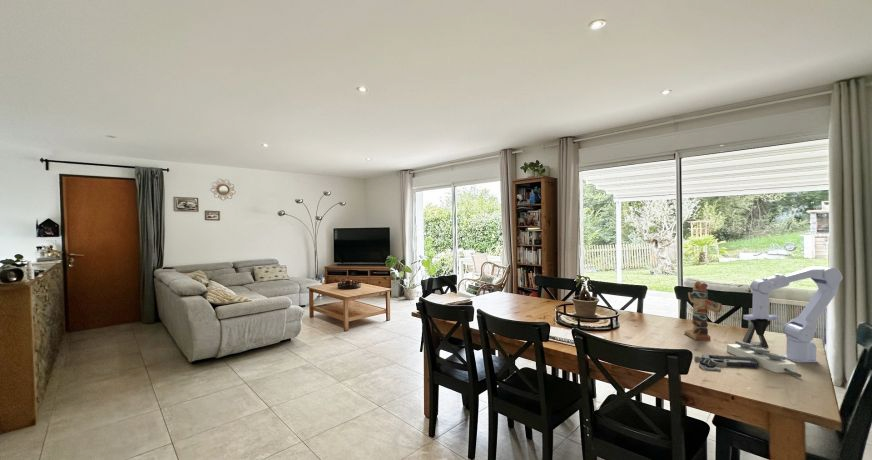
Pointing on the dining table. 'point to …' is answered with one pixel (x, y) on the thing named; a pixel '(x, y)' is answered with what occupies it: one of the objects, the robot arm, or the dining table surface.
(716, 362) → the firearm
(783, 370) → the power strip
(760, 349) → the rocker
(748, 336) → the dark grey a-frame stand
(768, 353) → the rocker
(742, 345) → the rocker
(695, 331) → the totem pole
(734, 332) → the dining table surface
